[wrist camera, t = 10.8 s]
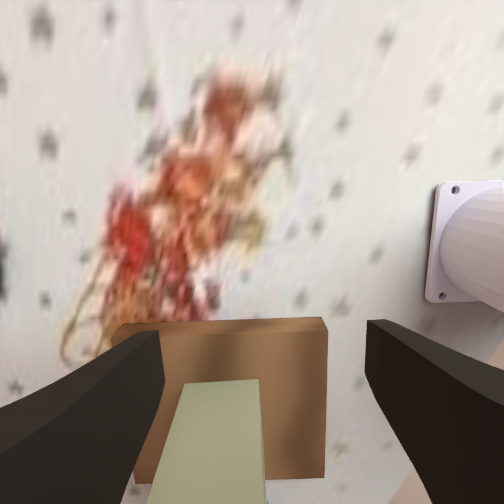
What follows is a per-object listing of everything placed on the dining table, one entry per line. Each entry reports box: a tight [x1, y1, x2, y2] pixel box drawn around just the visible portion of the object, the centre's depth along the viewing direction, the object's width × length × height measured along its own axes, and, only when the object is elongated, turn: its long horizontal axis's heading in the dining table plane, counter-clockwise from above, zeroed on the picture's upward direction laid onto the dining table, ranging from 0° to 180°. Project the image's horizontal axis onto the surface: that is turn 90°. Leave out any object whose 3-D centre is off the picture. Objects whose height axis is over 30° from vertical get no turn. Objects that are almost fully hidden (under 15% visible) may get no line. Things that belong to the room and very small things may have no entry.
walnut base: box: [111, 317, 328, 484], centre depth 22 cm, size 14×12×2 cm
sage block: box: [146, 379, 266, 504], centre depth 17 cm, size 5×5×8 cm
